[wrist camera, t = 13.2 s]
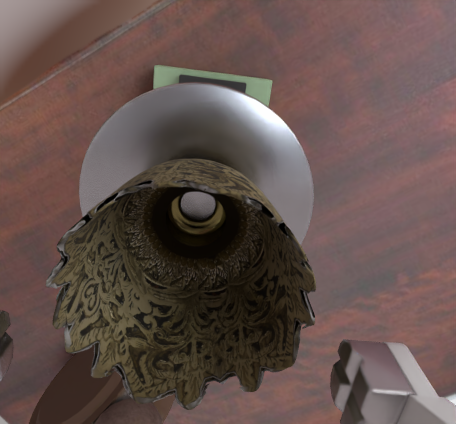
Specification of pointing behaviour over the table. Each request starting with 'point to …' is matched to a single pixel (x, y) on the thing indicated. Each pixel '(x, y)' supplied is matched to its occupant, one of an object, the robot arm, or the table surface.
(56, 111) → the table surface
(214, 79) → the scale
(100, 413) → the alarm clock
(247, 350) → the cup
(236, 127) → the brushed steel disc
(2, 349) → the robot arm
